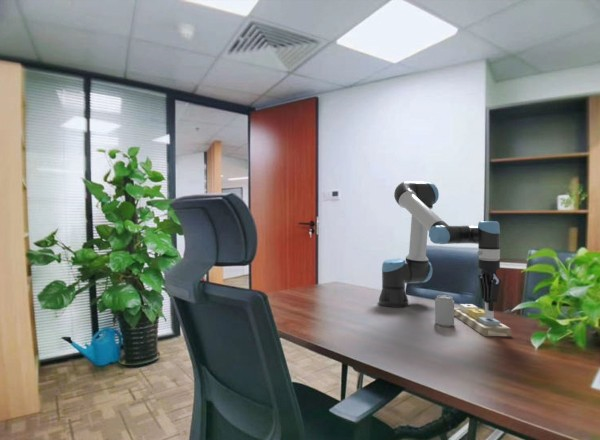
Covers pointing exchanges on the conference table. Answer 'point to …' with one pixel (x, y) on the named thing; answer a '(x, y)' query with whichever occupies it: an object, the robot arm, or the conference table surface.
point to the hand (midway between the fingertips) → (489, 318)
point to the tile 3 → (488, 321)
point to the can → (444, 310)
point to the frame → (482, 329)
